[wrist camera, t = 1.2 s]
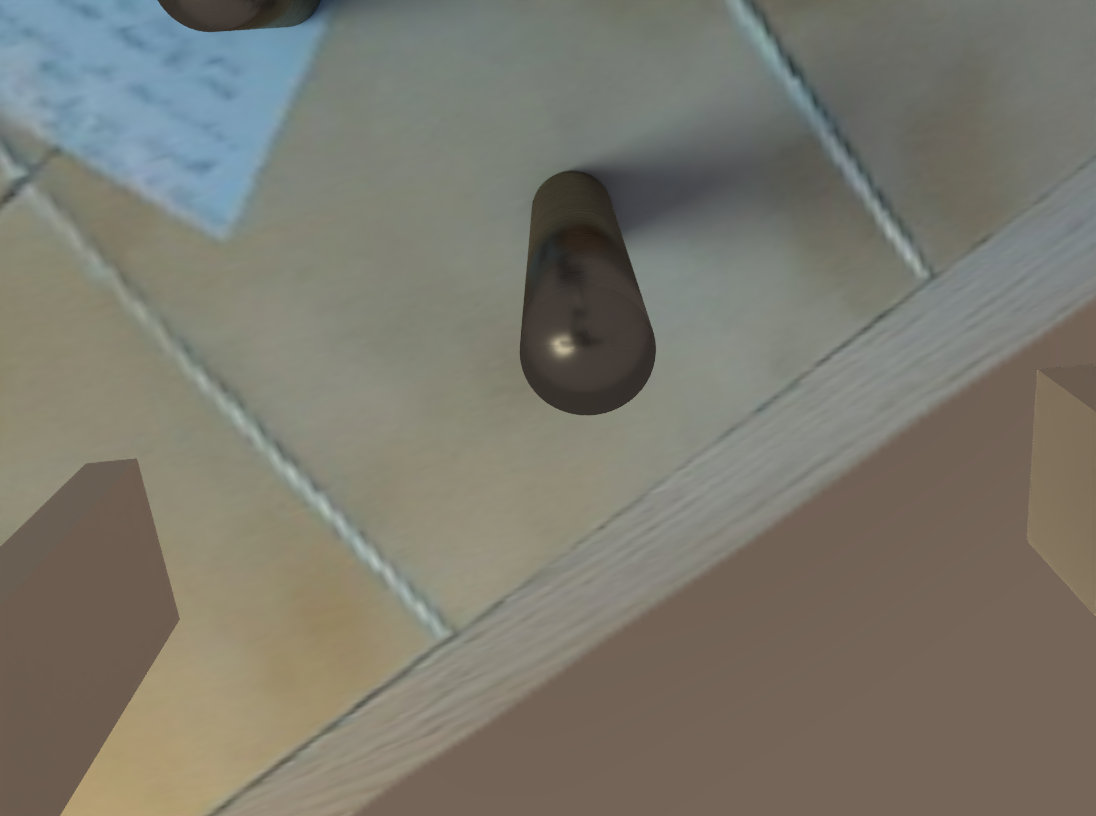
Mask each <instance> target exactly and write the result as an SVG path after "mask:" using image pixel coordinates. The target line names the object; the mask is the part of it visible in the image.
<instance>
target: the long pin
mask: <svg viewBox="0 0 1096 816" xmlns="http://www.w3.org/2000/svg"><path fill="white" fill-rule="evenodd" d="M655 354H656V345H655V338H654V333H653V330H652V327H651V324H650V321H649V317H648V314H647V311H646V308H645V305H644V302H643V299H642V296H641V293H640V290H639V286H638V283H637V280H636V277H635V274H634V271H633V268H632V265H631V262H630V259H629V255H628V252H627V249H626V246H625V243H624V240H623V237H622V234H621V231H620V228H619V225H618V221H617V218H616V215H615V212H614V209H613V206H612V203H611V200H610V197H609V194H608V192H607V190H606V189H605V188H604V186H603V185H602V184H601V183H600V182H599V181H598V180H597V179H595V178H594V177H592V176H591V175H588V174H586V173H583V172H578V171H566V172H562V173H559V174H556V175H554V176H552V177H550V178H549V179H548V180H546V181H545V182H544V183H543V184H542V185H541V187H540V188H539V189H538V191H537V193H536V195H535V197H534V200H533V205H532V213H531V225H530V237H529V248H528V260H527V271H526V283H525V294H524V306H523V317H522V329H521V341H520V360H521V365H522V369H523V372H524V375H525V377H526V379H527V381H528V383H529V384H530V386H531V387H532V389H533V390H534V391H535V392H536V393H537V394H538V396H539V397H540V398H542V399H543V400H544V401H545V402H547V403H548V404H550V405H551V406H553V407H555V408H557V409H559V410H562V411H564V412H568V413H571V414H577V415H597V414H602V413H606V412H609V411H612V410H615V409H617V408H619V407H621V406H623V405H624V404H626V403H627V402H629V401H630V400H631V399H633V398H634V397H635V396H636V395H637V394H638V393H639V392H640V391H641V390H642V388H643V387H644V385H645V384H646V382H647V380H648V379H649V377H650V375H651V372H652V369H653V366H654V362H655Z"/></svg>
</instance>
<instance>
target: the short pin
mask: <svg viewBox="0 0 1096 816" xmlns="http://www.w3.org/2000/svg"><path fill="white" fill-rule="evenodd" d="M158 1H159V3H160V5H161V6H162V7H163V8H164V10H165V11H166V12H167V13H168V14H169V15H170V16H171V17H172V18H174V19H175V20H176V21H178V22H179V23H181V24H183V25H184V26H187V27H189V28H191V29H194V30H198V31H204V32H218V31H234V30H249V29H265V28H281V27H291V26H295V25H298V24H300V23H302V22H304V21H305V20H307V19H308V18H309V17H310V16H311V15H312V14H313V13H314V12H315V10H316V9H317V7H318V5H319V3H320V0H158Z"/></svg>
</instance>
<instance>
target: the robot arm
mask: <svg viewBox="0 0 1096 816" xmlns="http://www.w3.org/2000/svg"><path fill="white" fill-rule="evenodd" d="M1027 541H1028V542H1029V543H1030V544H1031V546H1032V547H1033V548H1034V549H1035V550H1036V551H1037V552H1038V553H1039V554H1040V556H1041V557H1042V558H1043V559H1044V560H1045V561H1046V562H1047V563H1048V564H1049V566H1050V567H1051V568H1052V569H1053V570H1054V571H1055V572H1056V573H1057V574H1058V576H1059V577H1060V578H1061V579H1062V580H1063V581H1064V582H1065V583H1066V584H1067V585H1068V586H1069V588H1070V589H1071V590H1072V591H1073V592H1074V593H1075V594H1076V595H1077V597H1078V598H1079V599H1080V600H1081V601H1082V602H1083V603H1084V604H1085V605H1086V606H1087V608H1088V609H1089V610H1090V611H1091V612H1092V613H1093V614H1094V615H1095V616H1096V366H1094V365H1092V364H1087V365H1076V366H1066V367H1056V368H1046V369H1037V382H1036V398H1035V414H1034V431H1033V447H1032V463H1031V480H1030V496H1029V512H1028V529H1027ZM179 619H180V618H179V615H178V611H177V607H176V603H175V600H174V596H173V592H172V588H171V585H170V581H169V577H168V573H167V570H166V566H165V562H164V558H163V555H162V551H161V547H160V543H159V540H158V536H157V532H156V528H155V525H154V521H153V517H152V513H151V510H150V506H149V502H148V498H147V495H146V491H145V487H144V484H143V480H142V476H141V472H140V469H139V465H138V461H137V459H127V460H117V461H107V462H97V463H87V464H85V465H84V466H83V467H82V468H81V469H80V470H79V471H78V472H77V473H76V474H75V475H74V476H73V477H72V478H71V479H70V480H69V481H68V482H67V483H66V484H65V485H64V486H63V487H61V488H60V489H59V490H58V491H57V492H56V493H55V494H54V495H53V496H52V497H51V498H50V499H49V500H48V501H47V502H46V503H45V504H44V505H43V506H42V507H41V508H40V509H39V510H38V511H37V512H36V513H35V514H34V515H33V516H32V517H31V518H30V519H29V520H28V521H27V522H26V523H24V524H23V525H22V526H21V527H20V528H19V529H18V530H17V531H16V532H15V533H14V534H13V535H12V536H11V537H10V538H9V539H8V540H7V541H6V542H5V543H4V544H3V545H2V546H1V547H0V816H60V815H61V813H62V811H63V810H64V808H65V806H66V805H67V803H68V801H69V800H70V798H71V797H72V795H73V793H74V792H75V790H76V788H77V787H78V785H79V783H80V782H81V780H82V779H83V777H84V775H85V774H86V772H87V770H88V769H89V767H90V765H91V764H92V762H93V760H94V759H95V757H96V756H97V754H98V752H99V751H100V749H101V747H102V746H103V744H104V742H105V741H106V739H107V738H108V736H109V734H110V733H111V731H112V729H113V728H114V726H115V724H116V723H117V721H118V719H119V718H120V716H121V715H122V713H123V711H124V710H125V708H126V706H127V705H128V703H129V701H130V700H131V698H132V697H133V695H134V693H135V692H136V690H137V688H138V687H139V685H140V683H141V682H142V680H143V678H144V677H145V675H146V674H147V672H148V670H149V669H150V667H151V665H152V664H153V662H154V660H155V659H156V657H157V656H158V654H159V652H160V651H161V649H162V647H163V646H164V644H165V642H166V641H167V639H168V638H169V636H170V634H171V633H172V631H173V629H174V628H175V626H176V624H177V623H178V621H179Z"/></svg>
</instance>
